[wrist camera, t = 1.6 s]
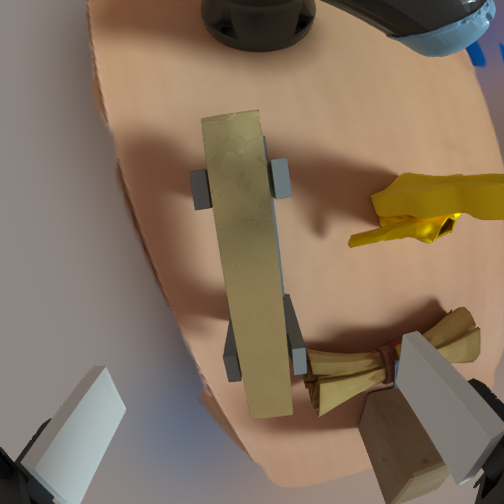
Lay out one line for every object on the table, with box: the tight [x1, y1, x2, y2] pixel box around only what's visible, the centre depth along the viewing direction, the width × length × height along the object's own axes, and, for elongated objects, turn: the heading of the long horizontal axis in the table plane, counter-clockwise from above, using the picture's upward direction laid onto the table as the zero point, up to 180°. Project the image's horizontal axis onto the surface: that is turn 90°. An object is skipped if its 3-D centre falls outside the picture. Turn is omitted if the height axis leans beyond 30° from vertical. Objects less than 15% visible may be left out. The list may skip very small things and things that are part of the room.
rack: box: [190, 136, 307, 382], centre depth 29 cm, size 27×7×13 cm, turn 8°
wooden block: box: [358, 388, 451, 504], centre depth 32 cm, size 10×10×20 cm
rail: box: [201, 110, 293, 419], centre depth 23 cm, size 26×4×5 cm, turn 8°
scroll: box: [303, 307, 480, 417], centre depth 34 cm, size 27×10×10 cm, turn 101°
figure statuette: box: [348, 173, 504, 248], centre depth 23 cm, size 18×8×22 cm, turn 113°
